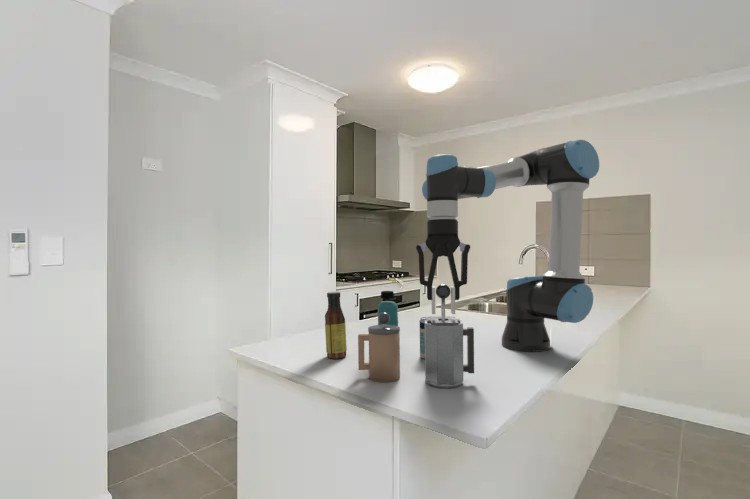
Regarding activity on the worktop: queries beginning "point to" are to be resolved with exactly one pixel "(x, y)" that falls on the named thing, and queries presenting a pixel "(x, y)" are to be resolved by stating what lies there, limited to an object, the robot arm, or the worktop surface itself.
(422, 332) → the beer can
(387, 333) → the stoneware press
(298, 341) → the worktop surface
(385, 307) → the beverage bottle
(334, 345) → the sauce bottle
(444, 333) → the steel carafe
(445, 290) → the plunger
